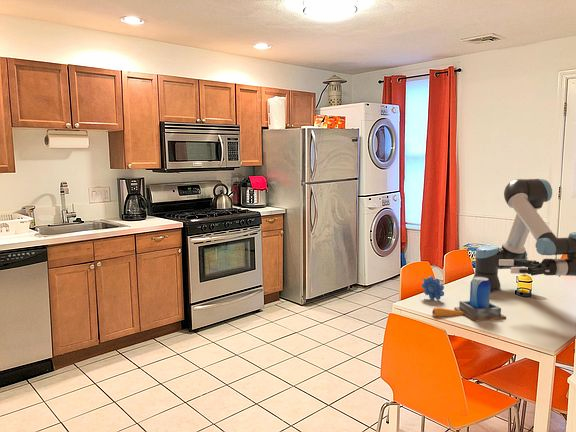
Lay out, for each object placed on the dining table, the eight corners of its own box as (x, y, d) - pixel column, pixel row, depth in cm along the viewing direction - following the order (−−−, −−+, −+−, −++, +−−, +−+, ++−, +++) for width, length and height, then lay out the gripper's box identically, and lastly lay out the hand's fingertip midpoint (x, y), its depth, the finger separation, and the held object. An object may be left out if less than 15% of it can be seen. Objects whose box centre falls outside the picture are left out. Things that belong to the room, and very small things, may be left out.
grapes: (418, 299, 230) (419, 276, 228) (422, 296, 235) (423, 274, 234) (441, 303, 223) (442, 280, 222) (445, 300, 229) (446, 277, 227)
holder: (484, 307, 217) (484, 298, 217) (506, 318, 202) (506, 309, 201) (454, 309, 214) (454, 300, 214) (473, 321, 199) (474, 311, 198)
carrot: (433, 319, 205) (436, 311, 202) (430, 312, 208) (432, 305, 206) (473, 321, 208) (477, 313, 205) (469, 314, 211) (472, 307, 209)
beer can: (480, 316, 202) (482, 281, 200) (465, 310, 210) (466, 277, 208) (493, 313, 206) (494, 279, 204) (477, 307, 214) (479, 275, 212)
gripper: (567, 283, 190) (515, 282, 192) (539, 267, 215) (494, 267, 216) (569, 266, 189) (517, 265, 191) (540, 252, 214) (495, 251, 215)
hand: (504, 266), depth 203 cm, fingers open, 13 cm apart
